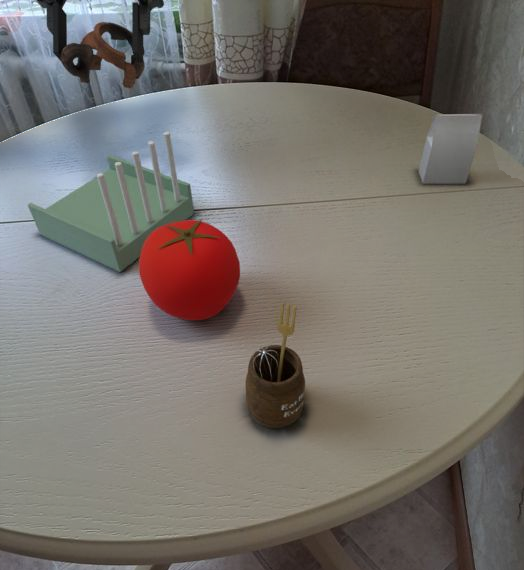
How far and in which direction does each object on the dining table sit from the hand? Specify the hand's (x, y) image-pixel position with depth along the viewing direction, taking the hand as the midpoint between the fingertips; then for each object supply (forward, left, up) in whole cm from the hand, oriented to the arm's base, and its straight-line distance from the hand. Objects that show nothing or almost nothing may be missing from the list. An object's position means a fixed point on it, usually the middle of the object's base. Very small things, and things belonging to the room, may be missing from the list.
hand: (99, 57), depth 69 cm
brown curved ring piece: (-2, +2, -5) cm, 5 cm away
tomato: (+28, -18, -18) cm, 38 cm away
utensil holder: (+45, -26, -18) cm, 55 cm away
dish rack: (+8, -11, -18) cm, 22 cm away
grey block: (+44, +26, -18) cm, 55 cm away
